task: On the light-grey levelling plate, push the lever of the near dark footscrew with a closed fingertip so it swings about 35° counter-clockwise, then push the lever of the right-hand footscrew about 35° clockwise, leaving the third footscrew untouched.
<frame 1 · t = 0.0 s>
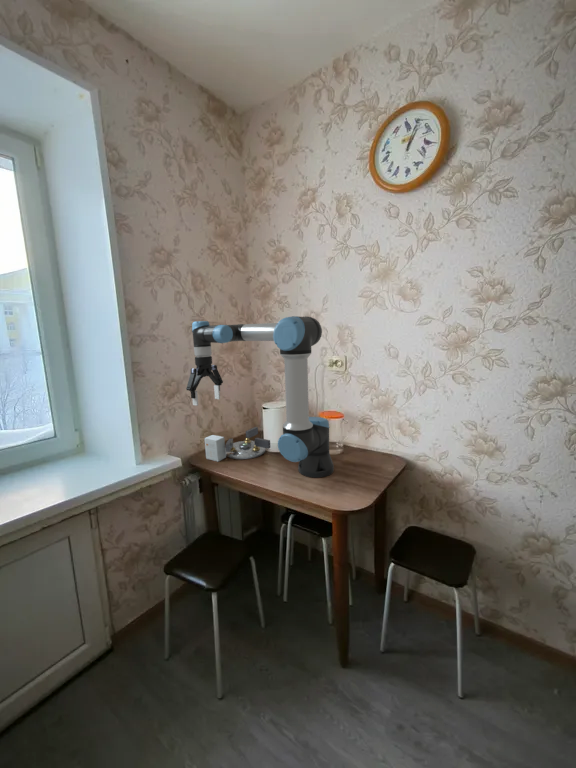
hand: (206, 402, 153), 28 cm above the table, fingers open, 13 cm apart
levelling plate: (245, 451, 166), on the table
knob left: (230, 446, 159), point 5 cm above the table, hinge at 0.0°
knob right: (251, 435, 175), point 5 cm above the table, hinge at 0.0°
knob near: (261, 445, 160), point 5 cm above the table, hinge at 0.0°
small box: (216, 458, 159), on the table
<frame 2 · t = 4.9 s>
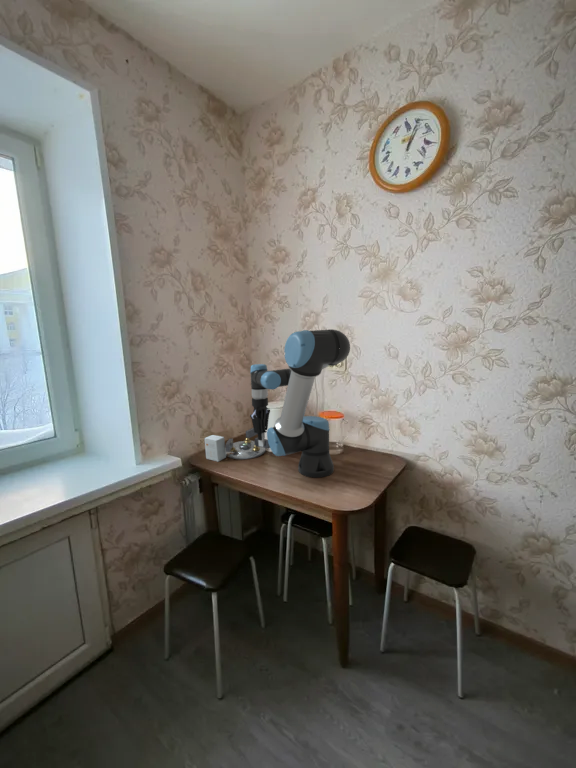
hand: (261, 445, 158), 5 cm above the table, fingers closed
knob near: (261, 444, 160), point 5 cm above the table, hinge at 1.3°, touching gripper
everything else where it was.
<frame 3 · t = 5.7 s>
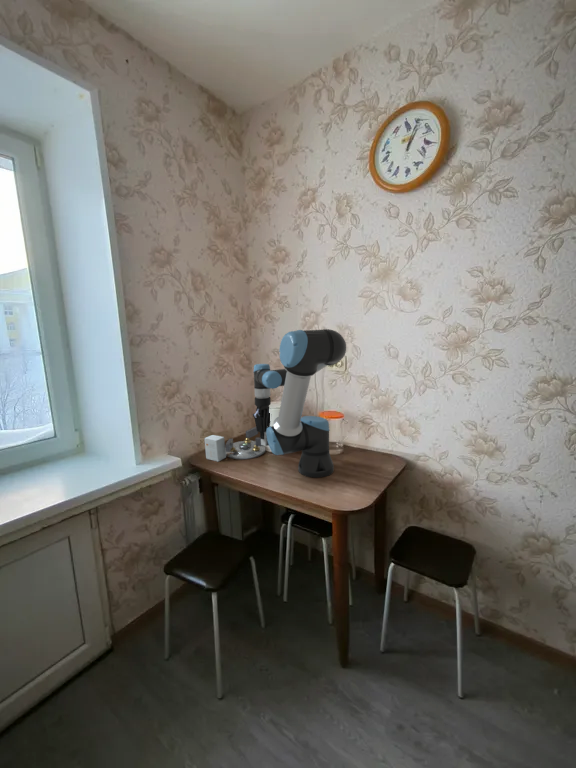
hand: (263, 444, 160), 5 cm above the table, fingers closed
knob near: (262, 443, 162), point 5 cm above the table, hinge at 30.8°, touching gripper
everything else where it was.
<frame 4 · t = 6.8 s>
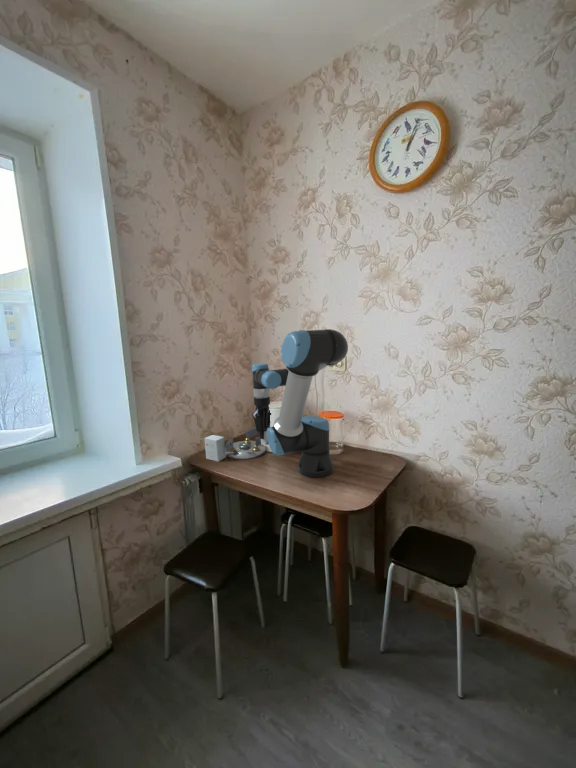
hand: (264, 444, 160), 6 cm above the table, fingers closed
knob near: (262, 443, 162), point 5 cm above the table, hinge at 45.3°
everything else where it was.
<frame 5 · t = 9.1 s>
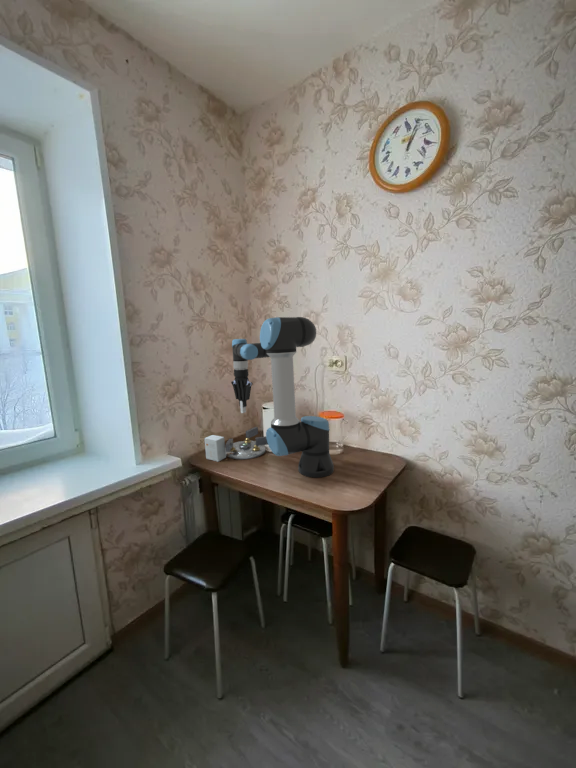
hand: (243, 412, 177), 16 cm above the table, fingers closed
nothing on the table moved.
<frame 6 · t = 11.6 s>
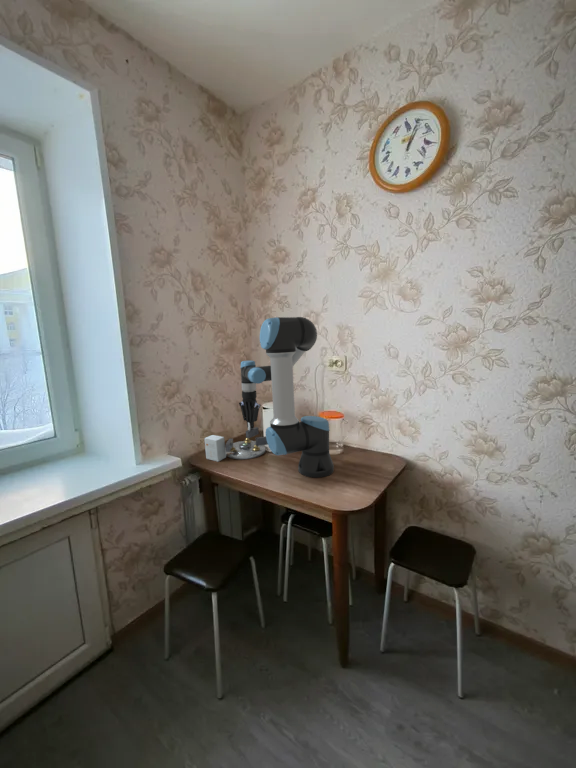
hand: (250, 433, 177), 5 cm above the table, fingers closed
knob right: (251, 435, 175), point 5 cm above the table, hinge at -2.9°, touching gripper
everything else where it was.
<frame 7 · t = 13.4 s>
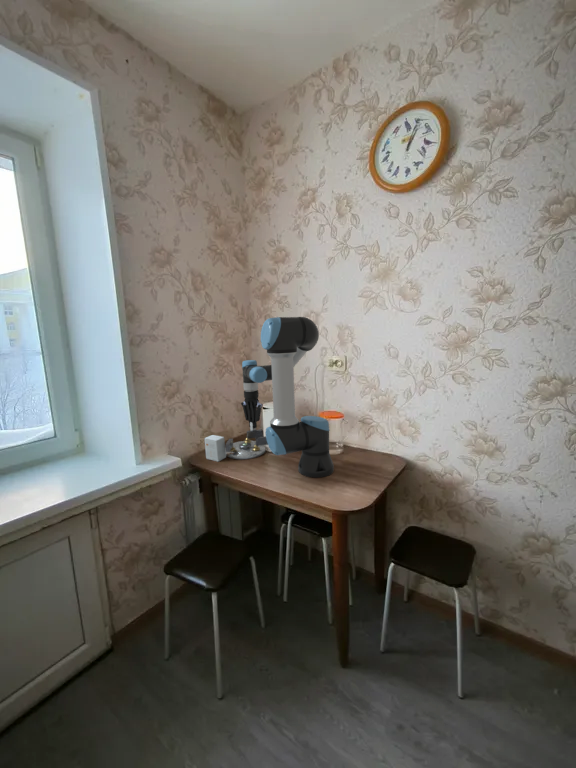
hand: (253, 433, 176), 6 cm above the table, fingers closed
knob right: (253, 436, 173), point 5 cm above the table, hinge at -43.3°
everything else where it was.
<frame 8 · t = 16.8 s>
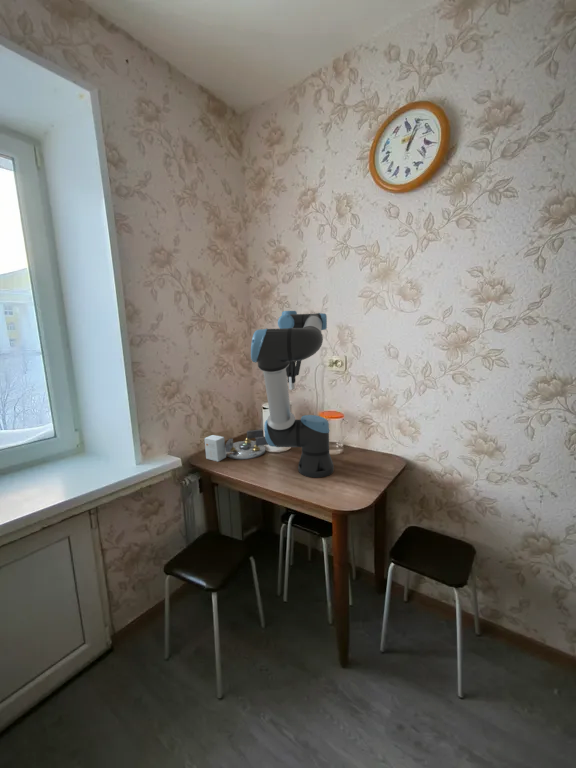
hand: (291, 389, 169), 29 cm above the table, fingers closed
knob right: (253, 436, 173), point 5 cm above the table, hinge at -45.1°
everything else where it was.
at the end: knob near at +45° (first picture: +0°); knob right at -45° (first picture: +0°); knob left at +0° (first picture: +0°) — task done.
